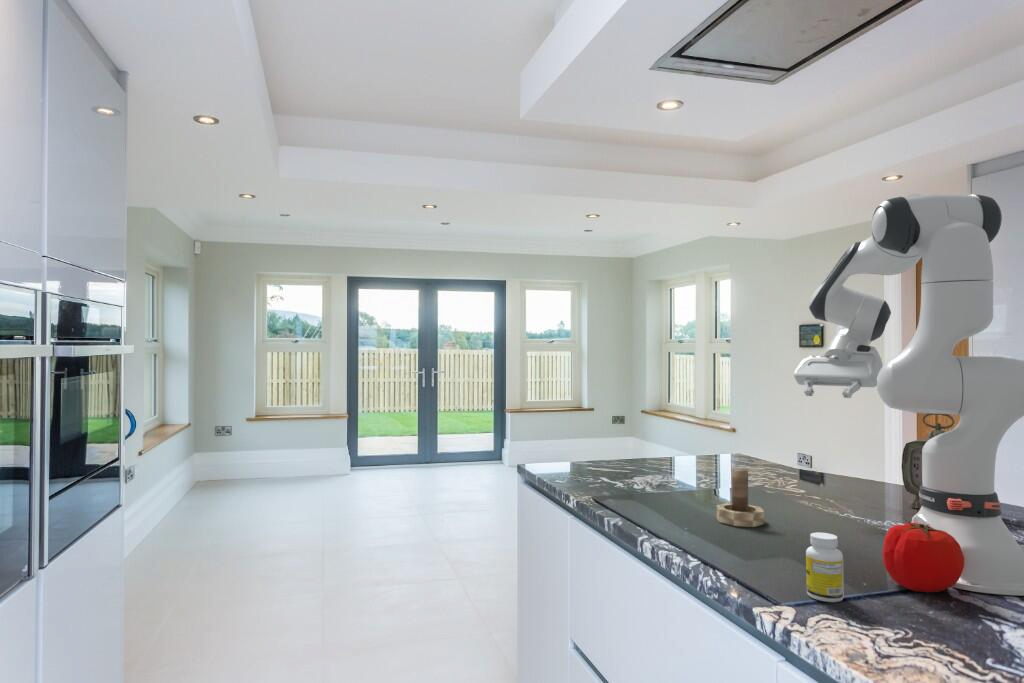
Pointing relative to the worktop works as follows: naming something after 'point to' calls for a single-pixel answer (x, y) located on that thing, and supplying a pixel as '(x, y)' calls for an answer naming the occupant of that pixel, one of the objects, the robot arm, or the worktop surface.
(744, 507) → the brown wooden cylinder
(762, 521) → the wooden octagonal ring
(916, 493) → the tabletop clock
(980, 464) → the robot arm
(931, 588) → the tomato
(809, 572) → the supplement bottle
